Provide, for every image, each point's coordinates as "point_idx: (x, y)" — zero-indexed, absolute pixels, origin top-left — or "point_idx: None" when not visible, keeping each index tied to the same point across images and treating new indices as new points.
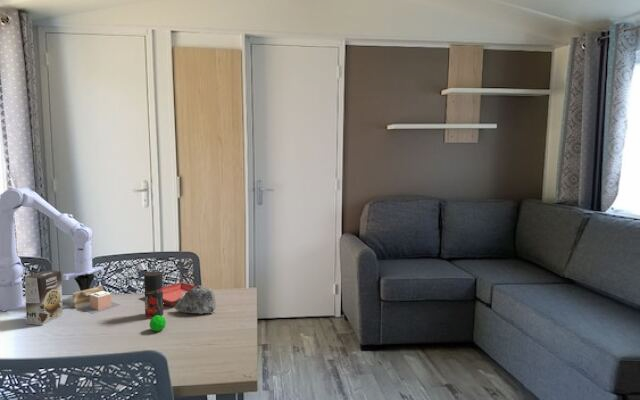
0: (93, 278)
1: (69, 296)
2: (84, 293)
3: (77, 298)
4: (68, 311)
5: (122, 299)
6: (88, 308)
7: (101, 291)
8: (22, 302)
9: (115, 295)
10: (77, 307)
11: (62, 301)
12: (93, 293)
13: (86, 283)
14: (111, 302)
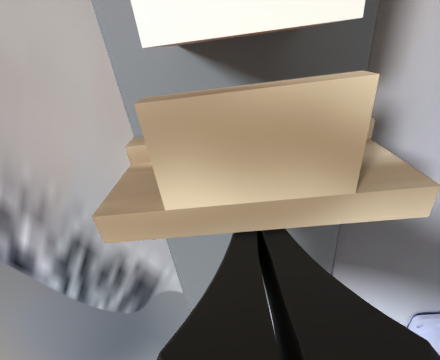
0: (173, 342)
1: None
2: (365, 124)
3: (369, 158)
4: (415, 105)
5: (7, 57)
6: None
7: (169, 23)
8: (435, 338)
9: (48, 184)
10: None
11: None
12: (306, 11)
13: (286, 285)
14: (108, 16)
